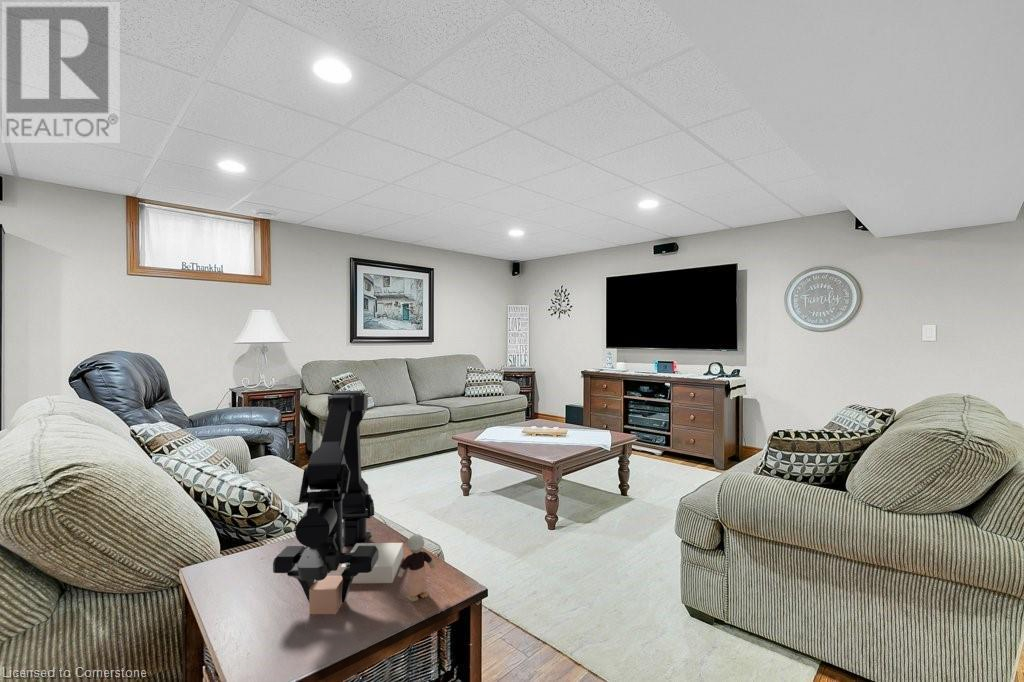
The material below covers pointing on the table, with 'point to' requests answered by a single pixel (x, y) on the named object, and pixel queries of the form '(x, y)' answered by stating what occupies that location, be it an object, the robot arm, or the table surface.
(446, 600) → the table surface
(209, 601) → the table surface
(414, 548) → the grandmother figurine
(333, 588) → the terracotta block
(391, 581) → the cream box
